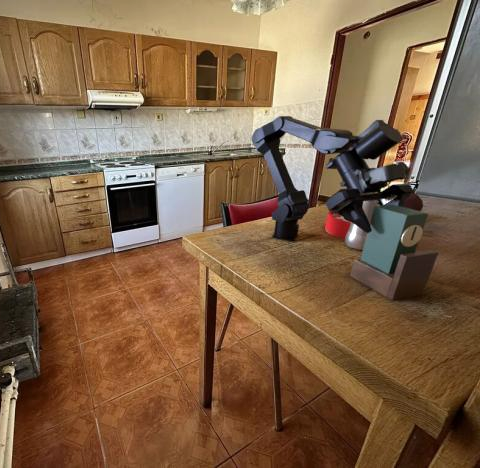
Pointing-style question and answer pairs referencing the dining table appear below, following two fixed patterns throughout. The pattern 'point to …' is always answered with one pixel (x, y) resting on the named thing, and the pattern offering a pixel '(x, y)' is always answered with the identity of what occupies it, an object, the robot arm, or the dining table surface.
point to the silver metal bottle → (355, 234)
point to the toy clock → (337, 225)
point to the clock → (392, 235)
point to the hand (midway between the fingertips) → (386, 229)
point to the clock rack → (398, 275)
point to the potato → (414, 202)
